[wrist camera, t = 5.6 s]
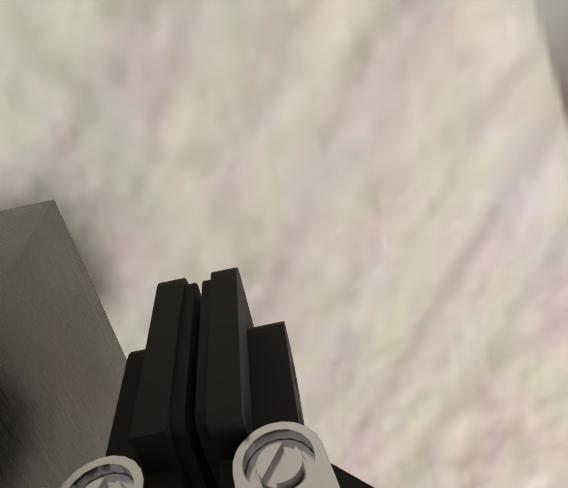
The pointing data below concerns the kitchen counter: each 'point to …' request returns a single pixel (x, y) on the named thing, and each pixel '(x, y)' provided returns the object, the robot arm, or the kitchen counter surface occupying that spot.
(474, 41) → the kitchen counter surface
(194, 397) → the robot arm
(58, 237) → the shaft
